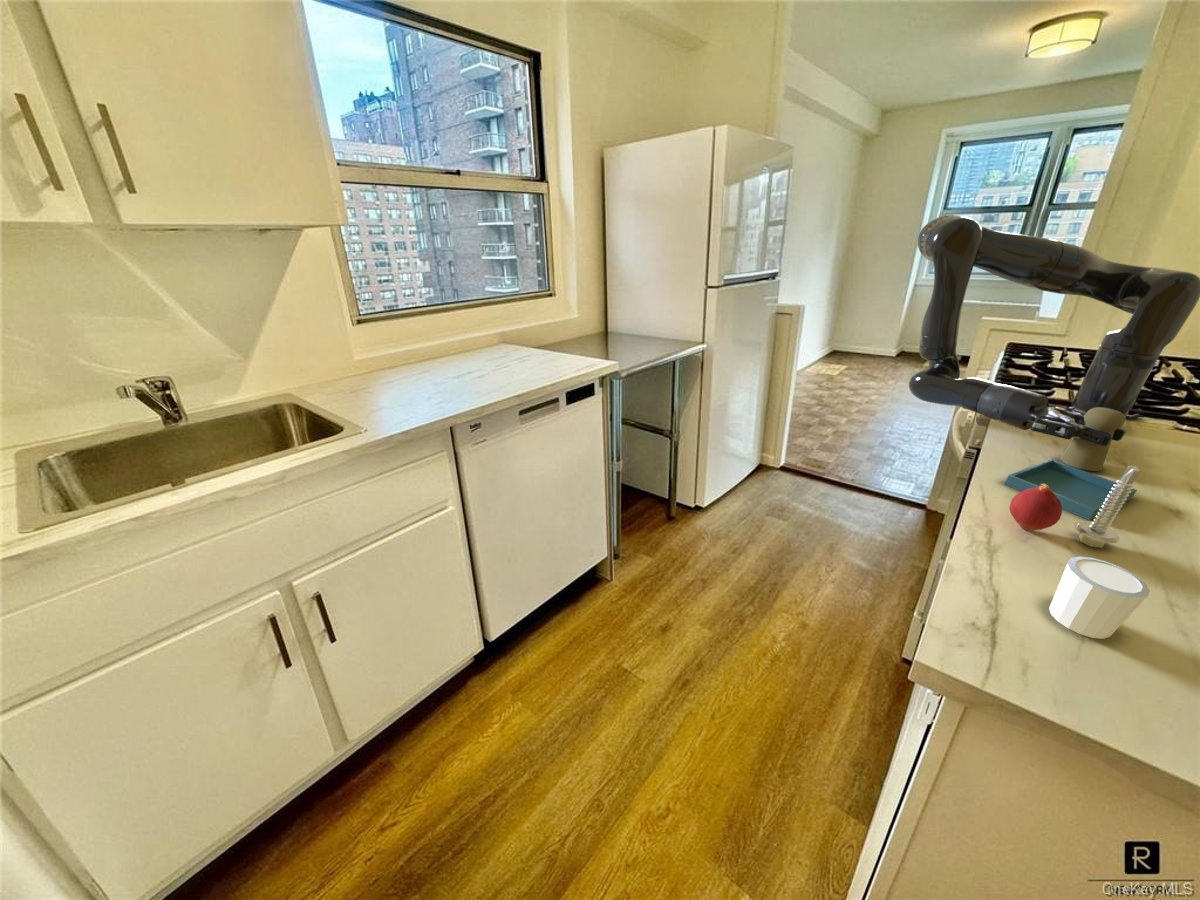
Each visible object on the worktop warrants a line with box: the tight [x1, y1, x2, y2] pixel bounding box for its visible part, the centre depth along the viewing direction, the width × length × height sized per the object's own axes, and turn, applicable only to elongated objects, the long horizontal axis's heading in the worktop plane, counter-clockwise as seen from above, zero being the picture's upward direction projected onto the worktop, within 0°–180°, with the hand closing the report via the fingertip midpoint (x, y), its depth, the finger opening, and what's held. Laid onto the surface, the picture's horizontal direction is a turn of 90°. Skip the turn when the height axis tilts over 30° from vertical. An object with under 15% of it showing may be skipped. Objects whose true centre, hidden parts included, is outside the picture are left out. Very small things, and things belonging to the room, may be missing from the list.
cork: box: [1059, 407, 1126, 472], centre depth 90 cm, size 6×6×11 cm
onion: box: [1009, 484, 1063, 531], centre depth 72 cm, size 6×6×8 cm
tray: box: [1004, 458, 1137, 521], centre depth 83 cm, size 14×12×2 cm
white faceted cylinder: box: [1048, 556, 1151, 640], centre depth 56 cm, size 7×7×7 cm
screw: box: [1073, 465, 1141, 548], centre depth 68 cm, size 13×5×5 cm
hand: (1115, 438), depth 87 cm, fingers closed on cork, 4 cm apart
